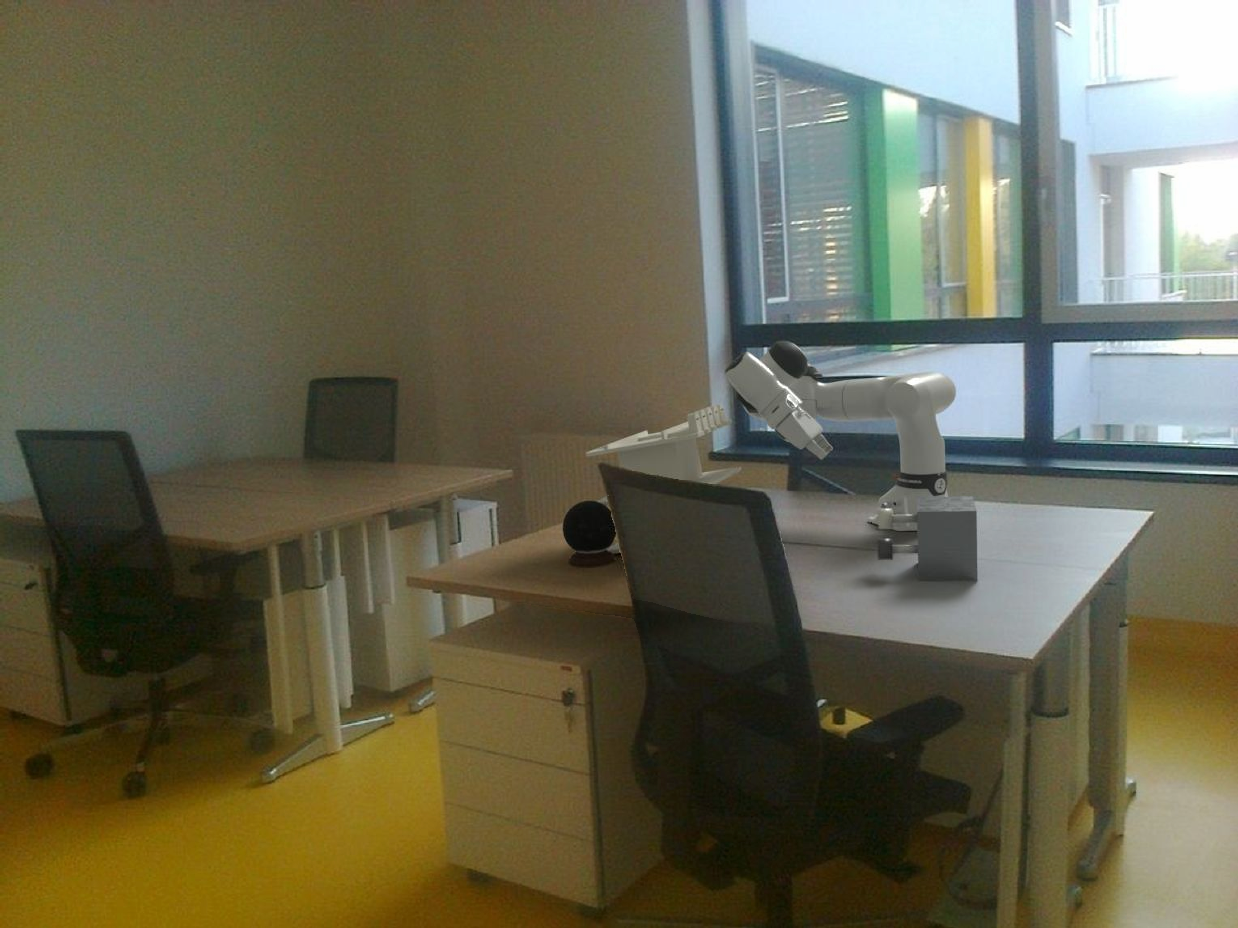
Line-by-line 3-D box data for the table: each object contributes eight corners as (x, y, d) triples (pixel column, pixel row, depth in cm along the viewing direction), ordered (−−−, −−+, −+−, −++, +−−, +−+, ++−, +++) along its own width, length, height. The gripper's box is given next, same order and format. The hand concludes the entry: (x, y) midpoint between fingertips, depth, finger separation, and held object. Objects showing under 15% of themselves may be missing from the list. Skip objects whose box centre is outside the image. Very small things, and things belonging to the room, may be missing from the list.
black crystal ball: (568, 570, 274) (563, 508, 272) (562, 558, 287) (557, 498, 285) (623, 565, 276) (619, 503, 274) (614, 553, 289) (610, 494, 287)
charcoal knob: (878, 561, 249) (877, 541, 249) (878, 556, 254) (878, 536, 253) (926, 561, 247) (925, 540, 246) (926, 556, 251) (925, 536, 251)
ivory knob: (878, 531, 256) (878, 510, 256) (879, 526, 261) (878, 506, 260) (925, 530, 254) (924, 510, 253) (925, 526, 258) (924, 506, 257)
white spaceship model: (722, 558, 275) (692, 414, 272) (606, 573, 288) (576, 435, 285) (755, 533, 299) (728, 401, 296) (647, 548, 312) (620, 421, 309)
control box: (918, 580, 246) (916, 511, 244) (918, 562, 262) (916, 497, 259) (977, 581, 243) (976, 511, 241) (973, 562, 259) (972, 496, 256)
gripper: (782, 415, 271) (824, 457, 270) (765, 425, 252) (810, 470, 251) (801, 396, 269) (843, 439, 268) (785, 404, 250) (831, 450, 249)
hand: (827, 454), depth 259 cm, fingers open, 8 cm apart
